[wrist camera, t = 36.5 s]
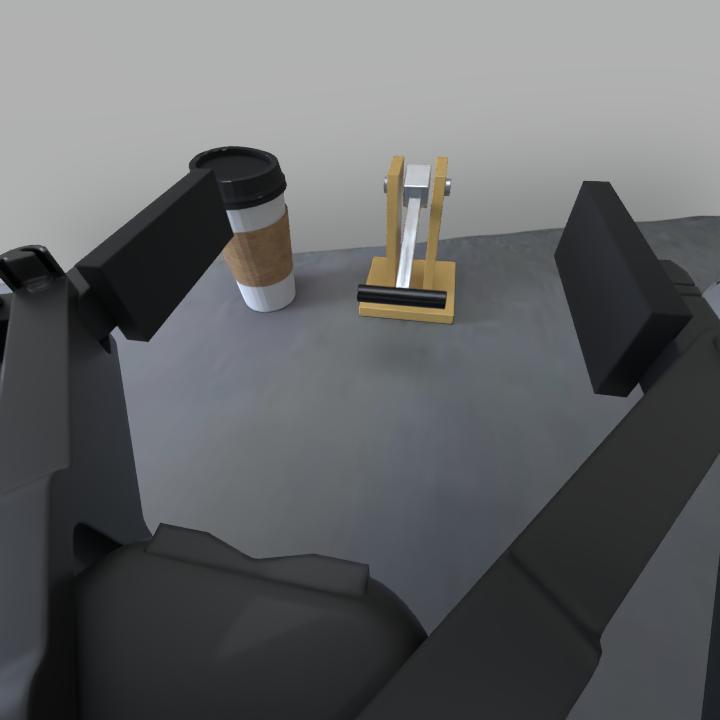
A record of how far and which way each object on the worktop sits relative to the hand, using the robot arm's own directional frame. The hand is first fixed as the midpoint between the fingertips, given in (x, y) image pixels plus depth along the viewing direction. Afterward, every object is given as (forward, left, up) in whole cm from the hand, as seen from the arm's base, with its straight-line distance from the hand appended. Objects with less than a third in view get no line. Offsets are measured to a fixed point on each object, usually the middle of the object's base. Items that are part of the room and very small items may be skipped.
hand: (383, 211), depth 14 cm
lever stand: (0, -22, -20) cm, 30 cm away
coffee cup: (+16, -19, -20) cm, 32 cm away
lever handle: (0, -17, -11) cm, 20 cm away
